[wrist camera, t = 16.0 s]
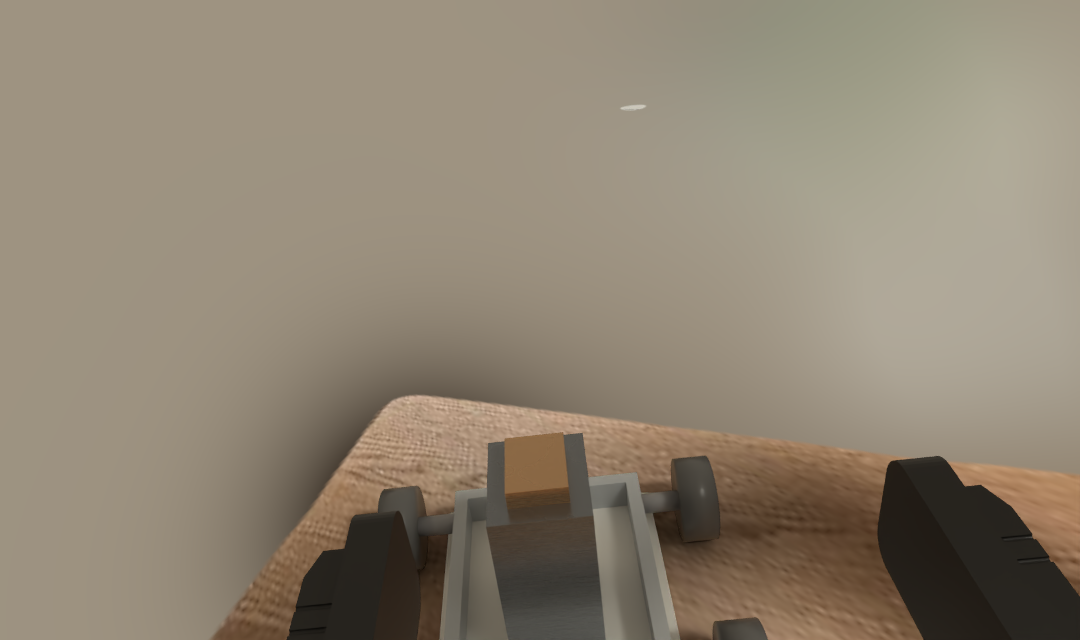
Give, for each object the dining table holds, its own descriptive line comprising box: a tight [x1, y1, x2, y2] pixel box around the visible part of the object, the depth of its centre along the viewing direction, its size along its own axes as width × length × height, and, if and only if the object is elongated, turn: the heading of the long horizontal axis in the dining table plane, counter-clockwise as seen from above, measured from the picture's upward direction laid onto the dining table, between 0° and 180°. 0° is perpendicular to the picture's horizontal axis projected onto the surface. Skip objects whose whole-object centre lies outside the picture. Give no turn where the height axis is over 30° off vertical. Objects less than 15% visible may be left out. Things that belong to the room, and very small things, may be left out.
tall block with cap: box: [486, 432, 606, 640], centre depth 41 cm, size 5×6×11 cm
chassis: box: [378, 456, 768, 640], centre depth 44 cm, size 20×17×5 cm
